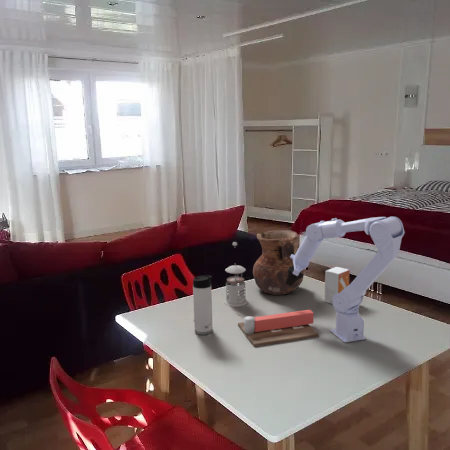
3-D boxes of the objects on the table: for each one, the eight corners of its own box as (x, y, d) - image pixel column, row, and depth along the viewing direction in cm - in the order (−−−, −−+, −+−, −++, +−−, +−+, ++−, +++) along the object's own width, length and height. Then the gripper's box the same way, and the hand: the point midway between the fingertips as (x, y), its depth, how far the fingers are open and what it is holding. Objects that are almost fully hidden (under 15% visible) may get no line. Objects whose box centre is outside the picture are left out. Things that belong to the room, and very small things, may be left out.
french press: (220, 305, 182) (219, 244, 177) (229, 295, 193) (227, 237, 188) (244, 307, 179) (243, 245, 174) (251, 297, 190) (251, 238, 185)
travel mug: (211, 335, 156) (209, 279, 152) (192, 334, 157) (190, 278, 153) (215, 327, 162) (213, 273, 158) (197, 326, 163) (195, 272, 159)
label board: (318, 336, 153) (318, 333, 153) (253, 346, 147) (253, 343, 147) (297, 317, 169) (297, 314, 169) (237, 325, 163) (237, 322, 163)
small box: (337, 305, 179) (338, 274, 176) (324, 301, 184) (324, 270, 181) (348, 300, 185) (350, 269, 182) (335, 296, 189) (336, 266, 186)
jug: (242, 290, 199) (241, 234, 194) (273, 278, 213) (273, 225, 208) (283, 302, 183) (283, 242, 178) (313, 289, 198) (314, 232, 193)
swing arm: (313, 323, 160) (314, 311, 159) (246, 333, 153) (246, 321, 152) (309, 319, 163) (309, 307, 162) (242, 329, 157) (242, 317, 156)
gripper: (300, 236, 168) (285, 263, 175) (291, 256, 156) (276, 284, 163) (317, 245, 167) (302, 271, 174) (310, 265, 155) (294, 293, 162)
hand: (290, 278), depth 169 cm, fingers open, 7 cm apart
